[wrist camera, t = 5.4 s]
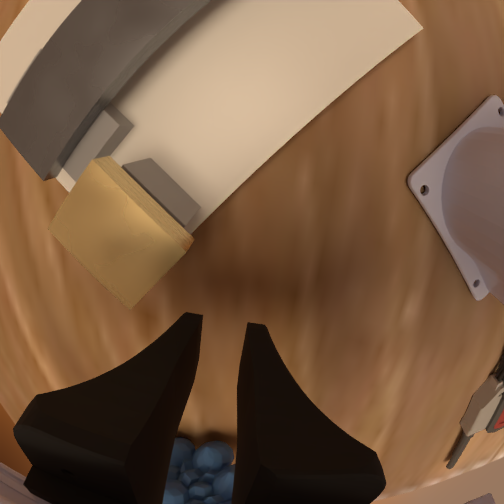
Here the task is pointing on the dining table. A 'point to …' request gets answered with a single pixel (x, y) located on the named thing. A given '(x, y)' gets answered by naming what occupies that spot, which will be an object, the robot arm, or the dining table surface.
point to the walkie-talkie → (483, 411)
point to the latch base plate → (218, 89)
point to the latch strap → (85, 74)
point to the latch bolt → (118, 231)
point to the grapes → (200, 473)
